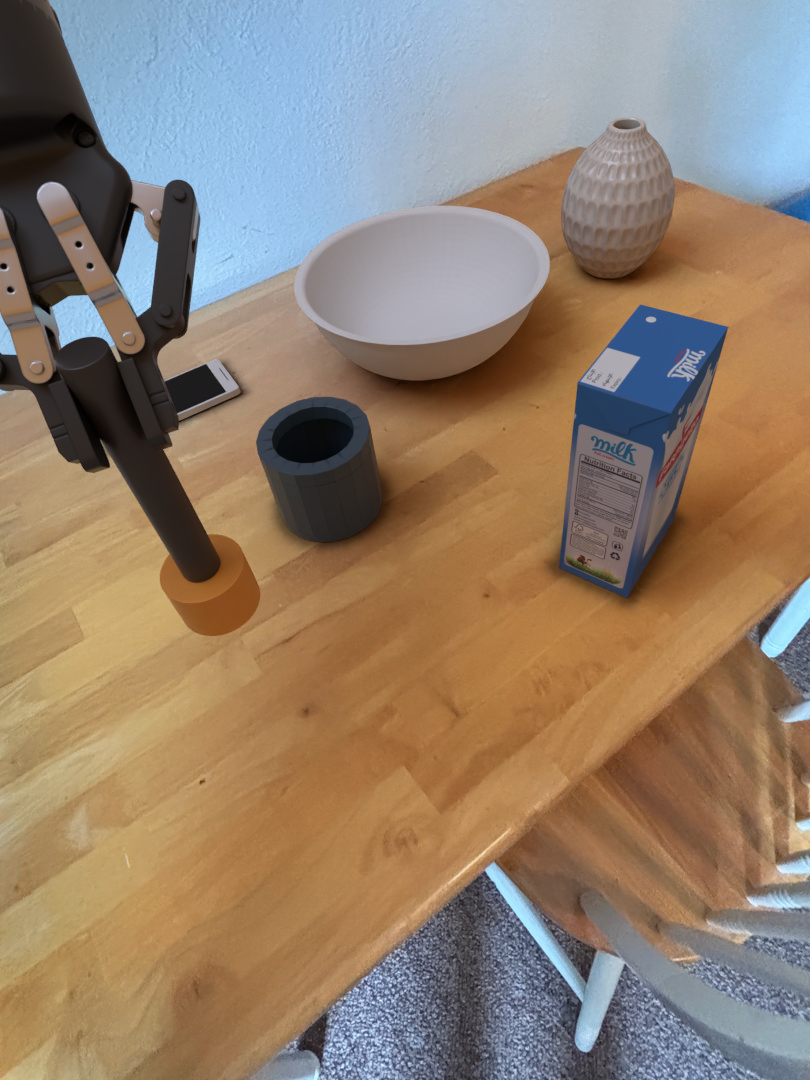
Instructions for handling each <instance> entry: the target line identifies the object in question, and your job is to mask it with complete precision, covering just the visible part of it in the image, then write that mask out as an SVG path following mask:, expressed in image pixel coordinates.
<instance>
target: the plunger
mask: <svg viewBox="0 0 810 1080" xmlns="http://www.w3.org/2000/svg"><path fill="white" fill-rule="evenodd" d="M54 362H55V366H56V367H57V369H58V371H59V372H60V374H61V376H62V377H63V379H64V380H65V382H66V384H67V385H68V387H69V388H70V390H71V392H72V393H73V395H74V397H75V398H76V400H77V402H78V403H79V405H80V407H81V408H82V410H83V412H84V413H85V415H86V417H87V418H88V420H89V422H90V423H91V425H92V426H93V428H94V430H95V431H96V433H97V435H98V436H99V438H100V440H101V443H102V445H103V447H104V449H105V451H106V452H107V453H108V455H109V456H110V458H111V460H112V461H113V463H114V464H115V466H116V468H117V469H118V472H119V473H120V475H121V477H122V478H123V480H124V481H125V483H126V485H127V486H128V488H129V489H130V492H131V493H132V494H133V497H134V498H135V499H136V501H137V502H138V504H139V506H140V507H141V509H142V511H143V513H144V514H145V516H146V518H147V519H148V521H149V522H150V524H151V526H152V527H153V529H154V530H155V532H156V534H157V536H158V537H159V538H160V540H161V543H162V544H163V546H164V548H165V549H166V550H167V552H168V555H167V556H166V558H165V560H164V561H163V562H162V565H161V568H160V572H159V584H160V587H161V590H162V591H163V593H164V594H165V596H166V598H167V599H168V600H169V603H171V605H172V607H173V608H174V610H175V611H176V613H177V614H178V616H179V617H180V618H181V620H182V621H183V623H184V624H185V626H186V627H187V628H188V629H189V630H190V631H192V632H193V633H195V634H198V635H201V636H205V637H219V636H223V635H228V634H230V633H232V632H235V631H237V630H238V629H239V628H241V627H243V626H244V625H245V624H246V623H248V621H250V620H251V618H252V617H253V616H254V615H255V613H256V611H257V609H258V607H259V604H260V601H261V587H260V585H259V583H258V581H257V578H256V577H255V575H254V572H253V570H252V568H251V566H250V564H249V562H248V559H247V558H246V555H245V553H244V551H243V549H242V547H241V546H240V544H239V543H238V542H237V541H236V540H234V539H233V538H231V537H229V536H226V535H223V534H217V533H216V534H215V533H211V534H210V533H209V534H208V533H207V531H206V528H205V526H203V523H202V521H201V519H200V517H199V515H198V513H197V511H196V509H195V508H194V506H193V504H192V502H191V500H190V497H189V496H188V494H187V492H186V491H185V488H184V487H183V485H182V482H181V480H180V479H179V477H178V475H177V473H176V471H175V469H174V467H173V466H172V463H171V461H170V459H169V458H168V456H167V454H166V451H165V449H163V450H160V451H155V450H153V449H152V448H151V446H150V444H149V442H148V440H147V438H146V435H145V433H144V431H143V428H142V426H141V423H140V421H139V418H138V416H137V413H136V411H135V408H134V406H133V403H132V401H131V398H130V396H129V393H128V391H127V388H126V386H125V383H124V381H123V378H122V376H121V374H120V371H119V369H118V366H117V364H116V363H117V362H119V361H118V359H117V357H116V355H115V354H114V352H113V350H112V348H111V346H110V344H109V342H108V341H107V340H105V339H104V338H102V337H99V336H86V337H81V338H78V339H74V340H72V341H69V342H68V343H66V344H64V346H61V349H60V350H59V351H58V353H57V354H56V356H55V359H54Z"/></svg>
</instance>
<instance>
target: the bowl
mask: <svg viewBox="0 0 810 1080" xmlns="http://www.w3.org/2000/svg"><path fill="white" fill-rule="evenodd" d="M550 269H551V259H550V254H549V251H548V248H547V247H546V244H545V243H544V241H543V240H542V238H541V237H540V236H539V235H538V234H536V232H535V231H533V230H532V228H529V226H527V225H525V224H524V223H522V222H520V221H519V220H517V219H514V218H512V217H510V216H507V215H505V214H501V213H498V212H496V211H491V210H487V209H483V208H477V207H470V206H461V205H425V206H423V205H422V206H414V207H406V208H402V209H401V208H400V209H395V210H391V211H387V212H383V213H380V214H375V215H372V216H370V217H366V218H363V219H361V220H358V221H356V222H353V223H351V224H349V225H347V226H345V227H342V228H341V229H339V230H337V231H335V232H334V233H332V234H331V235H329V236H327V237H326V238H325V239H322V241H320V242H319V243H318V244H317V245H316V246H315V247H313V248H312V249H311V250H310V251H309V253H308V254H307V255H306V256H305V257H304V258H303V260H302V261H301V263H300V265H299V267H298V268H297V271H296V274H295V277H294V281H293V293H294V297H295V300H296V303H297V304H298V307H299V308H300V310H301V311H302V312H303V313H304V315H305V316H306V317H307V318H308V319H309V320H310V321H312V322H313V323H314V324H315V325H314V326H316V327H317V329H318V330H319V332H320V333H321V334H322V336H323V337H324V338H325V339H326V340H327V341H328V343H329V344H330V345H332V346H333V348H335V350H337V351H338V352H339V353H340V354H341V355H343V357H345V358H346V359H348V360H349V361H350V362H352V363H354V364H355V365H356V366H357V365H358V366H359V367H360V368H362V369H365V370H367V371H369V372H372V373H374V374H376V375H380V376H383V377H387V378H391V379H396V380H403V381H430V380H432V381H433V380H437V379H443V378H448V377H452V376H454V375H455V376H456V375H458V374H461V373H464V372H467V371H468V370H471V369H472V368H474V367H477V366H478V365H479V366H480V364H482V363H484V362H485V361H487V360H488V359H489V358H491V357H492V356H494V355H496V353H497V352H498V351H500V350H501V349H502V348H503V347H504V346H505V345H506V344H507V343H508V342H509V341H510V340H511V339H512V338H513V336H514V335H515V334H516V333H517V332H518V330H519V329H520V327H521V326H522V324H523V323H524V321H525V319H526V318H527V316H528V315H529V313H530V311H531V309H532V306H533V304H534V303H535V300H536V298H537V296H538V295H540V292H541V291H542V289H543V288H544V286H545V284H546V282H547V281H548V278H549V274H550Z"/></svg>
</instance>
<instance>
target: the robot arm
mask: <svg viewBox="0 0 810 1080" xmlns="http://www.w3.org/2000/svg"><path fill="white" fill-rule="evenodd" d="M80 80H81V79H80V77H79V75H78V73H77V70H76V67H75V64H74V62H73V59H72V57H71V54H70V52H69V49H68V47H67V45H66V42H65V38H64V36H63V31H62V27H61V23H60V20H59V17H58V14H57V13H56V11H55V9H54V8H53V6H52V5H51V3H50V0H0V316H1V319H2V321H3V322H4V324H5V326H6V327H7V329H8V331H9V334H10V337H11V341H12V344H13V348H14V350H15V354H4V353H1V352H0V390H1V391H2V392H3V391H4V392H13V391H29V392H31V393H32V394H33V395H34V397H35V399H36V402H37V404H38V406H39V409H40V411H41V414H42V416H43V418H44V420H45V421H44V422H45V423H46V426H47V428H48V429H49V433H50V435H51V438H52V439H53V442H54V445H55V447H56V450H57V451H58V453H59V454H60V456H62V458H64V460H66V462H67V463H70V464H75V465H78V464H79V465H80V466H81V467H82V469H83V471H85V472H86V473H90V474H96V473H99V472H102V471H105V470H108V469H110V468H111V463H110V460H109V457H108V455H107V453H106V449H105V447H104V445H103V443H102V441H101V440H100V438H99V436H98V435H97V433H96V431H95V430H94V428H93V426H92V425H91V423H90V422H89V420H88V418H87V417H86V415H85V413H84V412H83V410H82V408H81V407H80V405H79V403H78V402H77V400H76V398H75V397H74V395H73V393H72V392H71V390H70V388H69V387H68V385H67V384H66V382H65V380H64V379H63V377H62V376H61V374H60V372H59V371H58V369H57V367H56V366H55V362H54V359H55V356H56V354H57V353H58V351H59V350H60V349H61V348H62V345H61V340H60V328H59V325H58V322H57V318H56V315H55V312H54V309H53V307H54V306H57V304H59V303H60V302H62V301H64V300H65V299H67V298H68V297H76V296H77V297H78V296H88V298H89V300H90V301H91V303H92V305H93V306H94V307H95V310H96V311H97V313H98V315H99V317H100V319H101V321H102V323H103V325H104V327H105V328H106V331H107V332H108V334H109V336H110V338H111V340H112V342H113V343H114V346H115V348H116V351H117V353H118V356H119V359H120V361H118V362H117V363H116V364H117V366H118V369H119V371H120V374H121V376H122V378H123V381H124V383H125V386H126V388H127V391H128V393H129V396H130V398H131V401H132V403H133V406H134V408H135V411H136V413H137V416H138V418H139V421H140V423H141V426H142V428H143V431H144V433H145V435H146V438H147V440H148V442H149V444H150V446H151V448H152V449H153V450H155V451H160V450H166V449H168V448H171V447H173V442H172V438H171V437H170V434H171V433H173V432H177V431H179V430H180V429H179V426H180V424H179V423H180V421H179V417H178V414H177V412H176V409H175V407H174V405H173V402H172V399H171V397H170V394H169V392H168V389H167V387H166V384H165V382H164V380H165V379H164V376H163V375H162V372H161V369H160V366H159V364H158V357H159V353H160V351H162V349H163V348H164V347H165V346H166V345H167V344H169V343H170V342H172V341H173V340H177V339H178V340H179V339H181V338H182V337H184V336H185V335H186V333H187V331H188V328H189V319H190V311H191V304H192V303H191V301H192V294H193V285H194V279H195V278H194V277H195V269H196V261H197V253H198V252H197V251H198V244H199V237H200V228H201V227H200V226H201V214H200V210H199V205H198V201H197V197H196V194H195V191H194V190H195V189H193V187H192V185H191V184H190V183H188V182H187V181H186V180H184V179H173V180H171V181H169V182H168V183H167V184H166V186H164V185H163V186H162V185H158V184H152V183H149V182H148V183H147V182H144V181H140V180H139V181H137V180H135V179H134V180H133V179H131V176H130V174H129V172H128V171H127V169H126V168H125V166H124V165H123V164H122V163H121V162H119V161H118V160H117V159H116V158H115V157H114V156H113V155H112V154H111V152H109V150H108V149H107V146H106V144H105V141H104V139H103V136H102V133H101V131H100V129H99V126H98V123H97V121H96V118H95V116H94V114H93V111H92V108H91V106H90V103H89V101H88V98H87V95H86V92H85V90H84V88H83V85H82V82H81V81H80ZM135 212H136V213H138V214H140V215H141V216H142V217H143V223H144V226H145V229H146V231H147V233H148V235H149V237H150V238H151V240H153V241H154V242H155V243H157V250H156V258H155V267H154V276H153V283H152V290H151V291H152V292H151V300H150V301H151V302H150V306H149V307H148V308H147V309H146V310H145V311H143V312H142V313H140V315H137V313H136V311H135V309H134V305H133V304H132V302H131V300H130V298H129V296H128V294H127V293H126V291H125V289H124V287H123V285H122V282H121V281H120V279H119V277H118V275H117V274H118V271H119V270H120V267H121V263H122V258H123V255H124V252H125V247H126V244H127V241H128V237H129V233H130V230H131V226H132V222H133V219H134V214H135Z"/></svg>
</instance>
